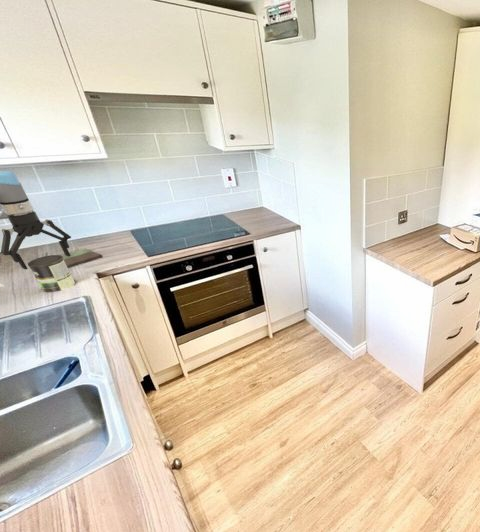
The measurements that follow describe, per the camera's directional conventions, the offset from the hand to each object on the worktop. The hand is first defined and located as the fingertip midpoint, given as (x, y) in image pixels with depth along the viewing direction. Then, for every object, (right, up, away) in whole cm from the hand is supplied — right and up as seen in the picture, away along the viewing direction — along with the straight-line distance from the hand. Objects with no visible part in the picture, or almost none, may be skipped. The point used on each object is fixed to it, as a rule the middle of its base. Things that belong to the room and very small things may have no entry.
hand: (47, 261), depth 134 cm
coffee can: (-1, -12, +6) cm, 13 cm away
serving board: (-20, +1, +29) cm, 35 cm away
